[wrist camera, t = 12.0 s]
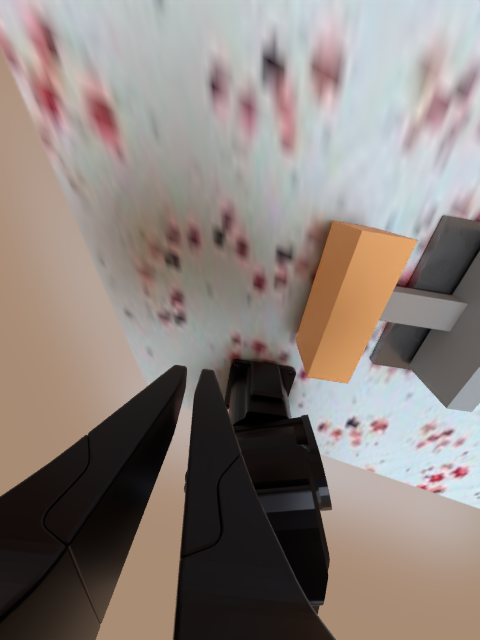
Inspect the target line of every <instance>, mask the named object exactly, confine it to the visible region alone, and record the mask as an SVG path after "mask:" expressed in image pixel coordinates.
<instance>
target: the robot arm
mask: <svg viewBox="0 0 480 640" xmlns="http://www.w3.org/2000/svg"><path fill="white" fill-rule="evenodd" d="M234 364H238V365H237V366H236V365H234ZM289 372H292V373H289ZM295 375H296V372H295V369H294V368H291V367H284V366H278V365H272V364H265V363H258V362H250V361H243V360H233V361H232V362H231V367H230V373H229V379H228V384H227V390H226V396H225V402H224V399H223V396H222V393H221V390H220V387H219V384H218V381H217V378H216V375H215V372H214V371H213V370H208V369H203V370H202V371H201V374H200V378H199V381H198V384H197V387H196V390H195V394H194V402H193V414H192V425H191V435H190V447H189V458H188V469H187V472H186V475H185V482H186V483H185V486H184V492H185V504H184V515H183V527H182V538H181V550H180V562H179V573H178V585H177V596H176V608H175V618H174V630H173V640H336V639H335V638H334V636H333V635H332V634H331V632H330V631H329V630H328V629H327V627H326V626H325V624H324V623H323V622H322V620H321V619H320V618H319V616H318V615H317V614H318V610H319V606H320V605H323V604H324V599H325V594H326V588H327V581H328V568H329V561H330V558H329V552H328V547H327V542H326V537H325V532H324V528H323V523H322V518H321V513H320V511H324V510H325V511H326V510H332V506H331V500H330V495H329V490H328V485H327V481H326V476H325V473H324V468H323V464H322V461H321V457H320V453H319V449H318V446H317V443H316V440H315V436H314V433H313V430H312V427H311V424H310V420H309V417H308V415H302V416H301V417H297V418H291V412H290V407H289V402H288V396H289V393H290V390H291V387H292V384H293V381H294V378H295ZM186 377H187V367H186V366H180V365H174V366H173V367H171V368H170V369H169V370H168V371H166V372H165V373H164V374H163V375H161V376H160V377H159V378H157V379H156V380H155V381H154V382H152V383H151V384H150V385H149V386H147V387H146V388H145V389H144V390H142V391H141V392H140V393H138V394H137V395H136V396H135V397H133V398H132V399H131V400H130V401H128V402H127V403H126V404H124V405H123V406H122V407H121V408H119V409H118V410H117V411H116V412H114V413H113V414H112V415H111V416H109V417H108V418H107V419H105V420H104V421H103V422H102V423H101V424H99V425H98V426H97V427H95V428H94V429H93V430H92V431H90V432H89V433H88V435H85V436H84V437H82V438H81V439H80V440H79V441H78V442H76V443H75V444H74V445H72V446H71V447H70V448H68V449H67V450H66V451H64V452H63V453H62V454H61V455H59V456H58V457H56V458H55V459H54V460H53V461H51V462H50V463H48V464H47V465H45V466H44V467H43V468H41V469H40V470H38V471H37V472H35V473H34V474H33V475H31V476H30V477H28V478H27V479H25V480H24V481H23V482H21V483H20V484H18V485H17V486H15V487H14V488H12V489H11V490H9V491H8V492H6V493H5V494H3V495H2V496H0V640H95V639H96V637H97V634H98V631H99V628H100V624H101V623H102V621H103V618H104V615H105V613H106V610H107V607H108V605H109V602H110V599H111V597H112V595H113V592H114V589H115V586H116V584H117V581H118V579H119V576H120V574H121V571H122V568H123V566H124V563H125V561H126V558H127V555H128V553H129V550H130V547H131V545H132V542H133V540H134V537H135V534H136V532H137V529H138V527H139V524H140V521H141V519H142V516H143V514H144V511H145V508H146V506H147V503H148V500H149V497H150V495H151V492H152V490H153V487H154V485H155V482H156V479H157V477H158V474H159V472H160V469H161V466H162V464H163V461H164V459H165V456H166V453H167V451H168V448H169V445H170V443H171V440H172V437H173V435H174V431H175V428H176V424H177V420H178V416H179V412H180V408H181V405H182V401H183V397H184V393H185V388H186ZM227 409H229V414H228V411H227Z"/></svg>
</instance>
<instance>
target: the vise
mask: <svg viewBox="0 0 480 640" xmlns="http://www.w3.org/2000/svg"><path fill="white" fill-rule="evenodd" d="M479 251H480V222H478V221H472V220H467V219H461V218H455V217H449V216H443V217H442V219H441V221H440V223H439V225H438V227H437V228H436V230H435V232H434V234H433V236H432V238H431V240H430V242H429V244H428V246H427V248H426V250H425V252H424V254H423V256H422V258H421V260H420V262H419V264H418V266H417V268H416V270H415V271H414V273H413V275H412V277H411V279H410V281H409V283H408V285H407V287H406V288H410V289H416V290H422V291H428V292H434V293H440V294H447V295H453V293H454V292H455V290H456V288H457V287H458V285H459V284H460V282H461V280H462V279H463V277H464V276H465V274H466V272H467V271H468V269H469V267H470V266H471V264H472V263H473V261H474V259H475V258H476V256H477V254H478V253H479ZM430 331H431V328H424V327H418V326H412V325H405V324H399V323H393V322H388V324H387V326H386V328H385V330H384V332H383V334H382V336H381V338H380V340H379V342H378V344H377V346H376V348H375V350H374V352H373V354H372V356H371V358H370V360H371V361H372V363H373V364H376V365H383V366H390V367H397V368H403V369H410V368H409V367H408V366H409V365H410V363H411V361H412V360H413V358H414V357H415V355H416V353H417V352H418V350H419V348H420V347H421V345H422V344H423V342H424V340H425V339H426V337H427V335H428V334H429V332H430ZM410 370H411V369H410Z"/></svg>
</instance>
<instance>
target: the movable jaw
mask: <svg viewBox="0 0 480 640" xmlns="http://www.w3.org/2000/svg"><path fill="white" fill-rule="evenodd" d="M417 241H418V240H415V239H412V238H408V237H405V236H401V235H398V234H394V233H391V232H387V231H384V230H380V229H377V228H372V227H367V226H361V225H355V224H349V223H344V222H338V221H333V223H332V226H331V229H330V232H329V235H328V238H327V242H326V245H325V248H324V251H323V254H322V258H321V261H320V264H319V267H318V270H317V273H316V277H315V280H314V283H313V286H312V289H311V292H310V296H309V299H308V302H307V305H306V308H305V311H304V315H303V318H302V321H301V324H300V327H299V330H298V334H297V337H296V343H297V346H298V350H299V353H300V356H301V359H302V362H303V366H304V369H305V372H306V375H307V377H308V378H315V379H321V380H328V381H335V382H342V383H348V382H349V380H350V378H351V376H352V374H353V372H354V370H355V368H356V366H357V364H358V362H359V360H360V358H361V356H362V354H363V352H364V350H365V348H366V346H367V343H368V341H369V339H370V337H371V335H372V333H373V331H374V329H375V327H376V325H377V323H378V321H379V320H380V321H386V322H393V323H399V324H405V325H412V326H418V327H424V328H431V331H430V332H429V334H428V335H427V337H426V339H425V340H424V342H423V344H422V345H421V347H420V348H419V350H418V352H417V353H416V355H415V357H414V358H413V360H412V361H411V363H410V365H409V366H408V367H409V368H410V369H411V370H412V371H413V372H414V373H415V374H416V375H417V377H418V378H419V379H420V380H421V381H422V382H423V383H424V384H425V385H426V386H427V388H428V389H429V390H430V391H431V392H432V393H433V394H434V395H435V396H436V397H437V398H438V400H439V401H440V402H441V403H442V404H443V405H444V406H445V407H446V408H448V409H455V410H462V411H469V412H472V411H473V410H474V409H475V408H476V406H477V405H478V404H479V403H480V251H479V253H478V254H477V256H476V258H475V259H474V261H473V263H472V264H471V266H470V267H469V269H468V271H467V272H466V274H465V276H464V277H463V279H462V280H461V282H460V284H459V285H458V287H457V288H456V290H455V292H454V293H453V295H447V294H440V293H434V292H428V291H422V290H416V289H410V288H404V287H398V286H396V284H397V282H398V280H399V278H400V276H401V274H402V272H403V270H404V268H405V266H406V263H407V261H408V259H409V257H410V255H411V253H412V251H413V249H414V247H415V245H416V243H417Z"/></svg>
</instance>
